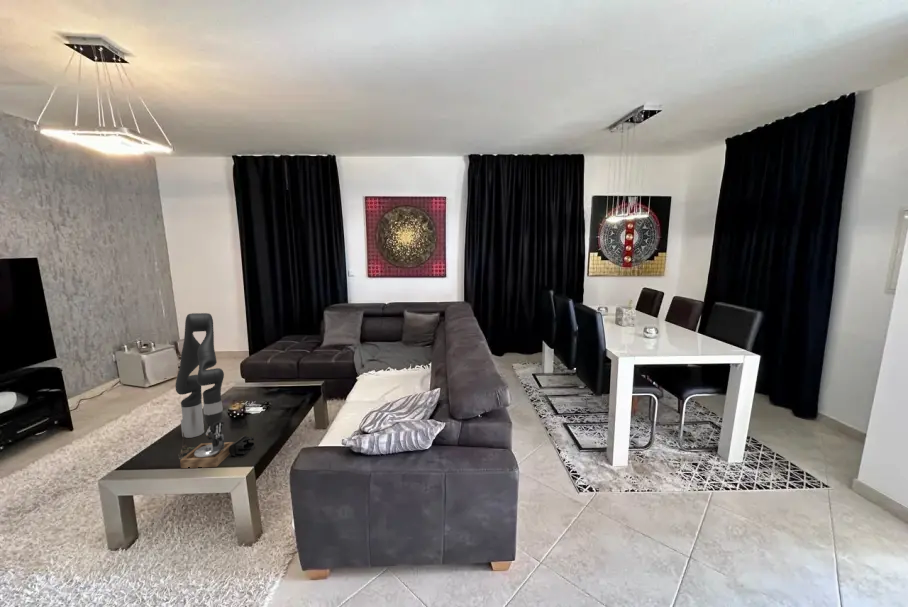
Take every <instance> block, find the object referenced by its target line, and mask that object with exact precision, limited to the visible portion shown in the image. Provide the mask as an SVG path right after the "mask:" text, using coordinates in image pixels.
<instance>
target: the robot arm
mask: <svg viewBox="0 0 908 607" xmlns="http://www.w3.org/2000/svg"><path fill="white" fill-rule="evenodd" d="M195 332H196V333H197V332H205V336H204V339H203V340H202V341H201V343H200V342H199V341H198V340H197V339H196V337H195V335H194V333H195ZM214 332H215V331H214V320H213V315H212V314H210V312H209V313H207V312H205V313H204V312H203V313H202V312H201V313H199V312H198V313H196V312H193V313H188V314H187V315H186V317H185V322H184V335H183V345H182V348H181V349H182V350H181V354H180V364H179V369H178V373H177V375H176V376H177V377H176V380H175V391H176V393H177V394H178V395H180V396H181V395H182V396H183V395H187V394H189V395H188V396H187V397H185V398H183V399H182V400H181V402H180V406H181V419H180V427H181V428H180V429H181V436H182V438H183V434H182V433H183V432H184V438H186V439H188V438H189V439H190V438H195V437H199V436H201V435H202V434H203V435H204V436H205V437H206V439H208V440H209V441H210V440H211V443H212V445H213V447H217V446H218V445H219V437H220V435H221V434H223V429H224V426H225V421H222V420H223V419H224V412H223V410H224V408H223V403H222V393H221V392H222V385H223V381H224V378H225V373H224V370H223V369H222V368H220V367H219V368H218V367H216V368H213V367H214V366H216V365H217V356H216V352H215V351H216V350H215V336H214V335H215V333H214ZM197 367H198V372H197V374H191V373H192V372H194V370H196V368H197ZM190 374H191V375H190ZM210 385H213V386H212V387H210V388H208V389H205V390H204V391H203V392H202V387H206V386H210ZM202 401H203V404H202ZM204 423H206V429H207V430H206V431H205V427H204V426H205V425H204Z"/></svg>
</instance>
